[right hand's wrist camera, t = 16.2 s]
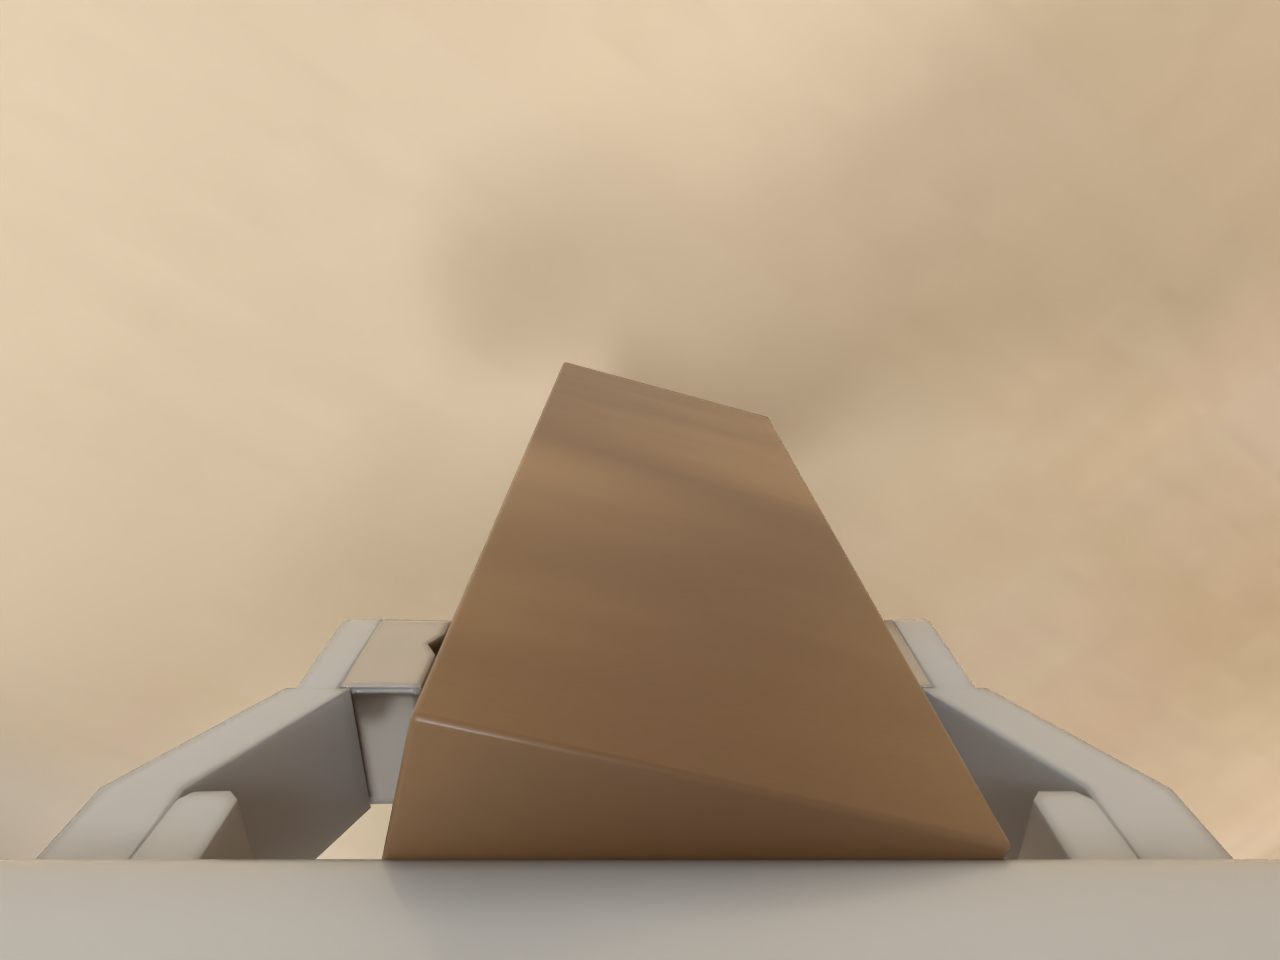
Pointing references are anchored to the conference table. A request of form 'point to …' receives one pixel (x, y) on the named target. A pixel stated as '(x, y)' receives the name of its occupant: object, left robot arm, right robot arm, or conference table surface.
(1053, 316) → the conference table surface
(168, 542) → the conference table surface
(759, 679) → the brick
